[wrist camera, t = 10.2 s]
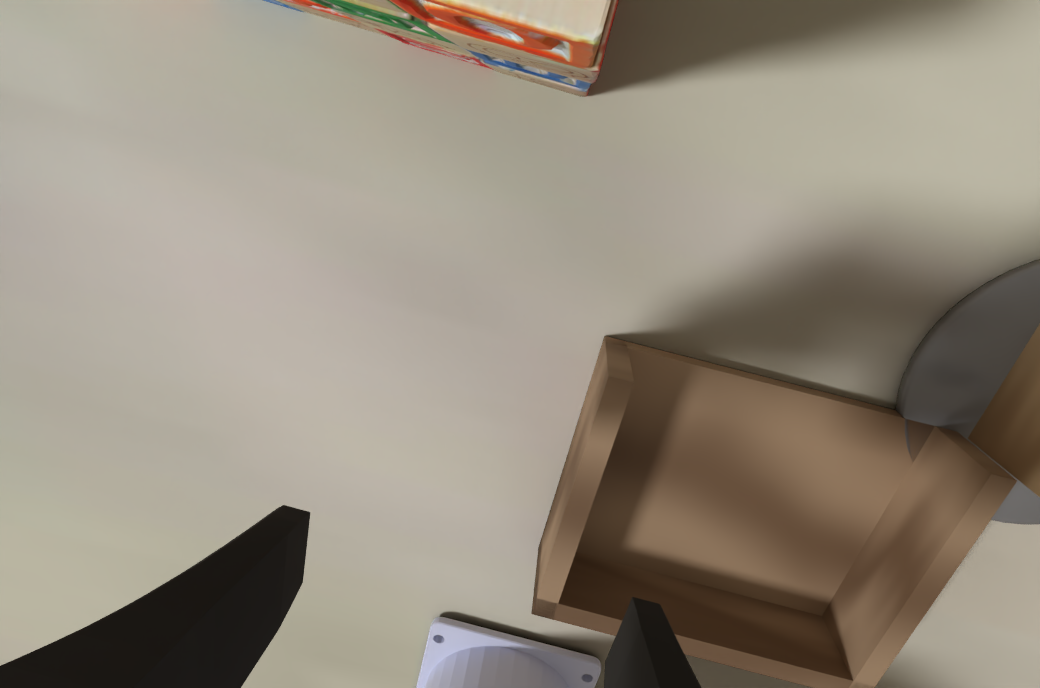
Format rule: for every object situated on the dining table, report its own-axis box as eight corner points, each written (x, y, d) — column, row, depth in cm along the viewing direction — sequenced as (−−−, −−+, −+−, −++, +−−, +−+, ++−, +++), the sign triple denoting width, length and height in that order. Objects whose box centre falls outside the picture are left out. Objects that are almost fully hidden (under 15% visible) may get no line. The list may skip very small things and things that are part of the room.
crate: (826, 622, 24) (864, 701, 21) (538, 547, 24) (531, 613, 21) (947, 423, 20) (1017, 480, 17) (604, 335, 20) (608, 376, 17)
